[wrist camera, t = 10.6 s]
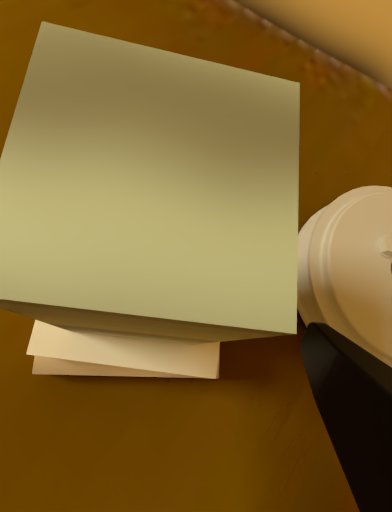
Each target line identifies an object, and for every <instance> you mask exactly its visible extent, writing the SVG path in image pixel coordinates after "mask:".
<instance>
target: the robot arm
mask: <svg viewBox="0 0 392 512" xmlns="http://www.w3.org/2000/svg"><path fill="white" fill-rule="evenodd" d="M300 351H301V355H302V359H303V362H304V365H305V369H306V372H307V376H308V379H309V383H310V386H311V389H312V393H313V396H314V399H315V402H316V404H317V407H318V409H319V412H320V414H321V417H322V419H323V422H324V424H325V427H326V429H327V432H328V434H329V437H330V439H331V442H332V444H333V447H334V449H335V452H336V454H337V456H338V459H339V461H340V464H341V466H342V469H343V471H344V474H345V476H346V479H347V481H348V484H349V486H350V489H351V491H352V494H353V496H354V499H355V501H356V503H357V506H358V508H359V511H360V512H392V367H390V366H389V365H387V364H386V363H384V362H383V361H381V360H380V359H378V358H377V357H375V356H374V355H372V354H371V353H369V352H368V351H366V350H365V349H363V348H362V347H360V346H359V345H357V344H356V343H354V342H353V341H351V340H350V339H348V338H347V337H345V336H344V335H342V334H341V333H339V332H338V331H336V330H335V329H333V328H332V327H330V326H329V325H327V324H326V323H323V322H310V323H309V324H308V326H307V328H306V330H305V333H304V335H303V338H302V340H301V343H300Z"/></svg>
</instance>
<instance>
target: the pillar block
mask: <svg viewBox="0 0 392 512" xmlns="http://www.w3.org/2000/svg"><path fill="white" fill-rule="evenodd" d="M299 103H300V83H297V82H293V81H289V80H285V79H280V78H276V77H272V76H268V75H264V74H260V73H255V72H251V71H247V70H243V69H239V68H235V67H230V66H226V65H222V64H218V63H214V62H210V61H205V60H201V59H197V58H193V57H189V56H185V55H180V54H176V53H172V52H168V51H164V50H160V49H155V48H151V47H147V46H143V45H139V44H134V43H130V42H126V41H122V40H118V39H114V38H109V37H105V36H101V35H97V34H93V33H89V32H84V31H80V30H76V29H72V28H68V27H64V26H59V25H55V24H51V23H47V22H43V21H42V23H41V26H40V29H39V33H38V36H37V39H36V43H35V46H34V49H33V53H32V56H31V59H30V63H29V66H28V69H27V73H26V76H25V79H24V83H23V86H22V89H21V93H20V96H19V99H18V103H17V106H16V109H15V113H14V116H13V119H12V123H11V126H10V129H9V133H8V136H7V139H6V142H5V146H4V149H3V152H2V156H1V159H0V308H2V309H5V310H8V311H11V312H14V313H17V314H20V315H23V316H26V317H29V318H32V319H35V320H38V321H41V322H44V323H47V324H50V325H53V326H56V327H59V328H62V329H65V330H68V331H73V332H83V333H92V334H101V335H110V336H119V337H129V338H138V339H147V340H156V341H166V342H175V343H184V344H193V345H194V344H204V343H214V342H224V341H234V340H244V339H253V338H263V337H273V336H283V335H293V334H297V264H298V183H299Z"/></svg>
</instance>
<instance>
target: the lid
mask: <svg viewBox="0 0 392 512" xmlns="http://www.w3.org/2000/svg"><path fill="white" fill-rule="evenodd" d="M297 309H298V311H299V314H300V316H301V318H302V320H303V322H304V323H305V325H306V327H307V326H308V324H309V323H310V322H323V323H326V324H327V325H329V326H330V327H332V328H333V329H335V330H336V331H338V332H339V333H341V334H342V335H344V336H345V337H347V338H348V339H350V340H351V341H353V342H354V343H356V344H357V345H359V346H360V347H362V348H363V349H365V350H366V351H368V352H369V353H371V354H372V355H374V356H375V357H377V358H378V359H380V360H381V361H383V362H384V363H386V364H387V365H389V366H390V367H392V188H391V187H386V186H366V187H361V188H357V189H353V190H351V191H349V192H347V193H344V194H343V195H341V196H340V197H338V198H337V199H335V200H334V201H333V202H332V203H331V204H329V205H328V206H326V207H324V208H323V209H321V210H319V211H318V212H317V213H315V214H314V215H313V216H312V217H311V218H310V219H309V220H308V221H307V222H306V223H305V224H304V226H303V227H302V229H301V231H300V232H299V234H298V264H297Z"/></svg>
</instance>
